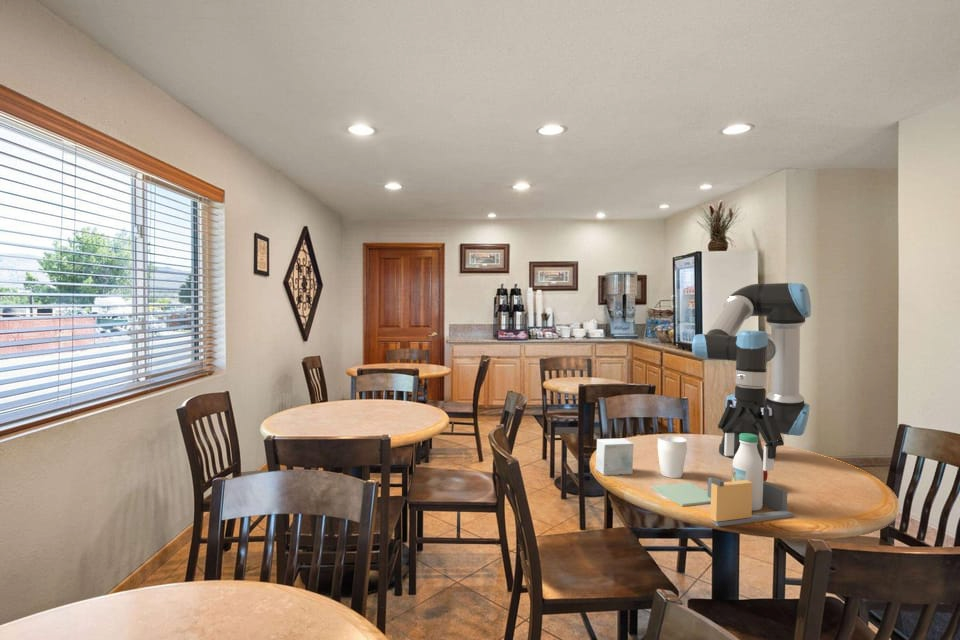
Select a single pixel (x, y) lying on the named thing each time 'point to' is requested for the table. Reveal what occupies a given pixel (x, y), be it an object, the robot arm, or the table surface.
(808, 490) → the table surface
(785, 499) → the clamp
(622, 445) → the skincare box
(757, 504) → the milk bottle
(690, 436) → the table surface
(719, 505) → the tan wooden slab
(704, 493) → the mat
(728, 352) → the robot arm
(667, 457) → the cup
